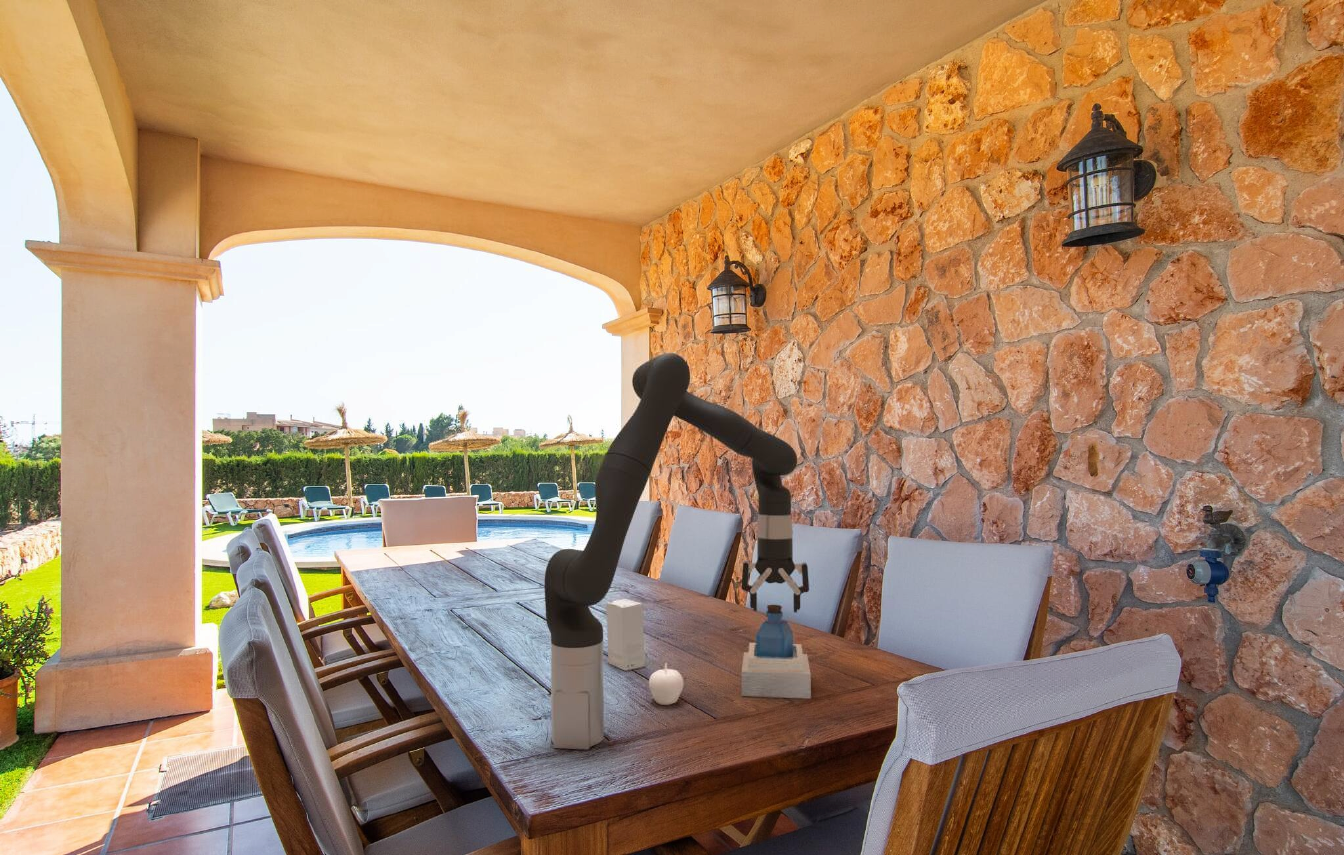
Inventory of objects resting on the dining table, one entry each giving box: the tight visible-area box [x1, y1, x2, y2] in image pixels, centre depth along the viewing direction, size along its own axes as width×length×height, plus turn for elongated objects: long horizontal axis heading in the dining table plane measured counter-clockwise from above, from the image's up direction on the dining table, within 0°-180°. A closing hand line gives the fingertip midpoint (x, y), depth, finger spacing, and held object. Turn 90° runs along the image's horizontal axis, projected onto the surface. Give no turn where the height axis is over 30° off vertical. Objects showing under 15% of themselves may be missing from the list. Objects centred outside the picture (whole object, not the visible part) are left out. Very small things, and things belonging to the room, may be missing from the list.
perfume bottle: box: [755, 604, 794, 657], centre depth 155 cm, size 6×6×12 cm
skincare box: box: [605, 598, 646, 671], centre depth 171 cm, size 8×6×15 cm
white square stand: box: [741, 642, 812, 700], centre depth 155 cm, size 14×14×8 cm
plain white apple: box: [648, 662, 684, 706], centre depth 146 cm, size 7×7×8 cm
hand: (775, 611), depth 155 cm, fingers open, 8 cm apart
